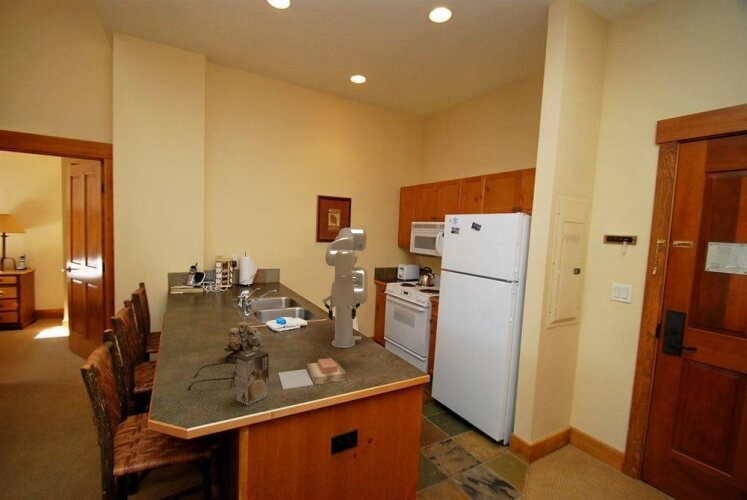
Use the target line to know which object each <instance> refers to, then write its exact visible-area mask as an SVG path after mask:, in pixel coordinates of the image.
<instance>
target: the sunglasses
mask: <svg viewBox="0 0 747 500" xmlns="http://www.w3.org/2000/svg"><path fill="white" fill-rule="evenodd" d="M231 363H237V361H232V362H226V361H225V362H219V363H214V364H213V363H211V364H207V365H204V366H202V367H201V368H199V370H198V371H197V372H196V373H195V374H194V376H193V378H194V379H195V378H197V376H198V374H199V372H200V371H201V370H202V369H203V368H207V367H210V366H211V367H212V366H217V365H227V364H231ZM236 377H237V365H236V366H235V368H234V372H233V373H232V376H230V377H221V378H220V377H219V378H209V379H200V380H196V381H194V382H192V383H191V384H190V385H189V387H187V390H191V388H192V386H193V385H194V384H195V383H200V382H207V381H222V380H232V385H231V386H232V387H233V386H234V383H235V380H236Z"/></svg>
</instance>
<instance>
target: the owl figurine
mask: <svg viewBox="0 0 747 500" xmlns="http://www.w3.org/2000/svg"><path fill="white" fill-rule="evenodd" d="M261 335H262V334H261V333H260V332H259V330H258V328H257V327H251V328H249V329H248V323H246V322H245V321H241V322H239V323H238V324H237V325H236V327H232V328H230V329H229V331H228V337H227V344H225V345H224V346H223V347H222V349H223V350H224V352H231V353H229V354H228V355H226V356H225V358H224V361H225V362H232V361H237V357H239V356H241V355H244V354H247V353H250V352H253V351H256V350H259V351H261V349H263V347H264V346H265V345H264V343H262V336H261ZM230 364H232V365H233V364H234V365H235V364H236V365H237V363H230Z"/></svg>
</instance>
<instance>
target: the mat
mask: <svg viewBox="0 0 747 500" xmlns="http://www.w3.org/2000/svg"><path fill="white" fill-rule="evenodd" d="M278 378H279V381H280V384H281V387H282V390H283V391H288V390H289V391H290V390H295V389H302V387H303V388H308V386H309V387H314V386H315V385H314V383H313V381H312V379H311V377H310V375H309V374H308V372H307V368H305V369H297V370H290V371H289V370H288V371H282V372H278Z"/></svg>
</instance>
